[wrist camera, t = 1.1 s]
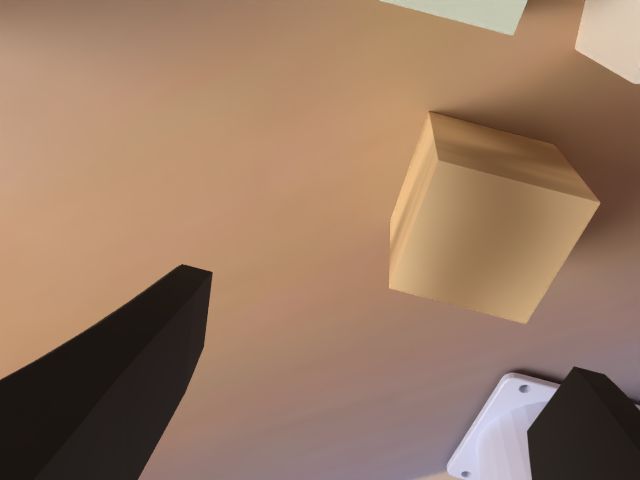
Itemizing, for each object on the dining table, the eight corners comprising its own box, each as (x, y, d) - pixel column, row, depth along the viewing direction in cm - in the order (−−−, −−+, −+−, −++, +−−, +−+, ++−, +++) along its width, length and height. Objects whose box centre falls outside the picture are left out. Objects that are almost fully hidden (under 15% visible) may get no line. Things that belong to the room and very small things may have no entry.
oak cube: (553, 143, 17) (600, 202, 13) (500, 248, 19) (525, 323, 15) (428, 110, 17) (438, 160, 13) (390, 219, 19) (389, 288, 15)
